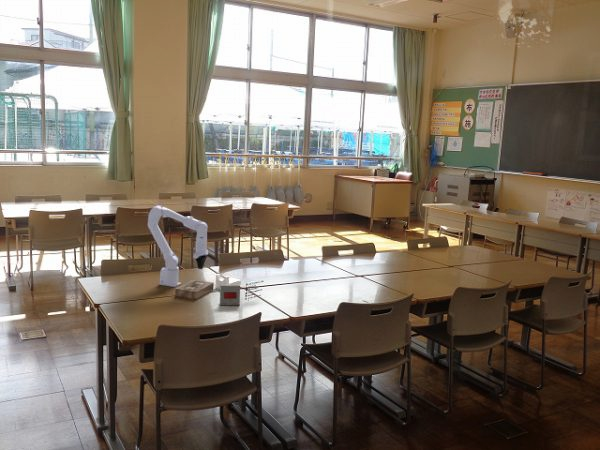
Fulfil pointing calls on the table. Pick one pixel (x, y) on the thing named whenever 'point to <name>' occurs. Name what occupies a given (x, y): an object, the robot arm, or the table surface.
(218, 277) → the bracket
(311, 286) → the table surface
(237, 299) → the voltmeter
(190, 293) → the band block
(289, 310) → the table surface
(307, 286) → the table surface
